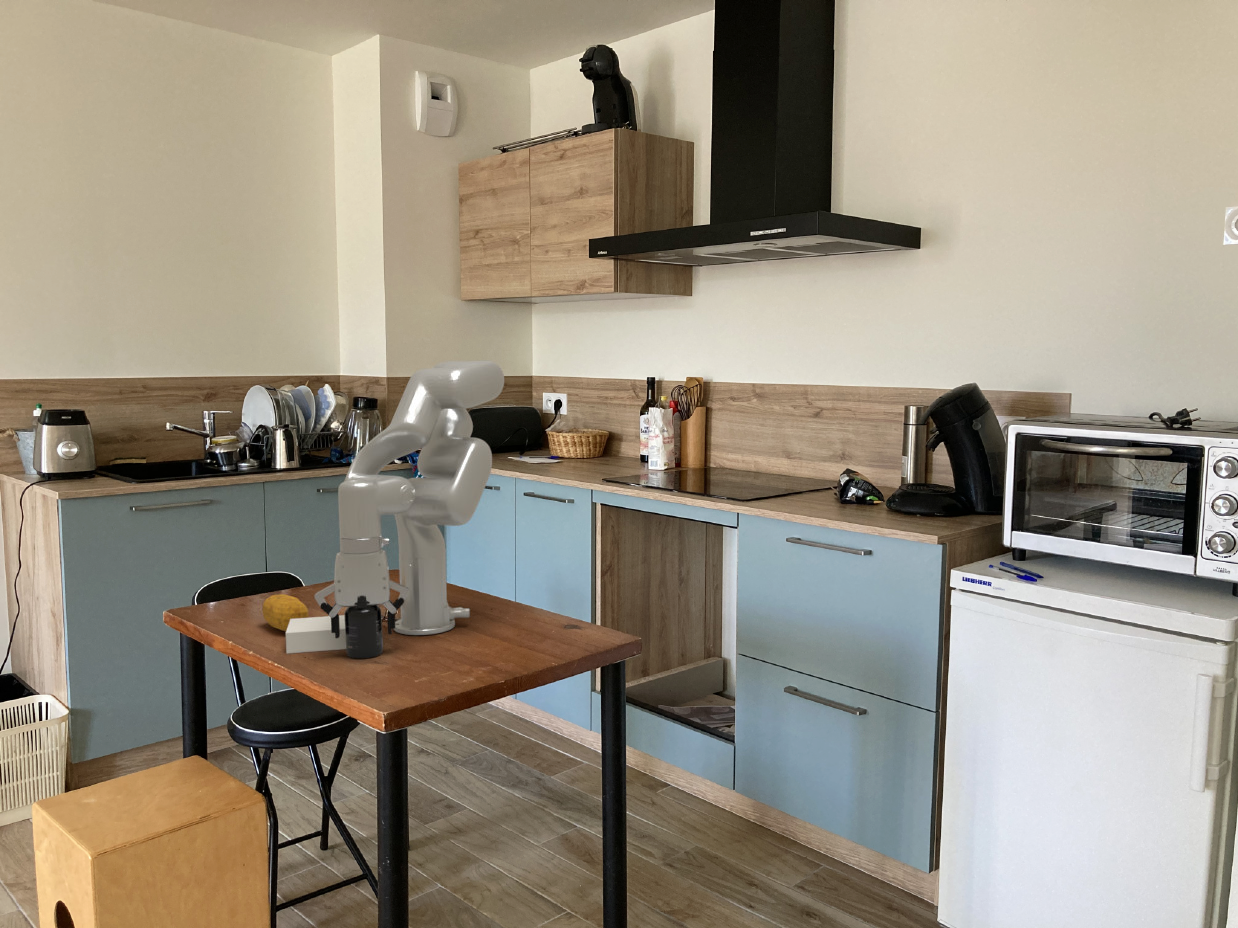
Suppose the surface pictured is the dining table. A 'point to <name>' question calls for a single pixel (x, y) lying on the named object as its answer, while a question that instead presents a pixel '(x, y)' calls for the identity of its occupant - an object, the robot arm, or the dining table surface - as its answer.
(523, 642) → the dining table surface
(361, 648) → the supplement bottle
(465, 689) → the dining table surface
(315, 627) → the stand
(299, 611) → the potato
